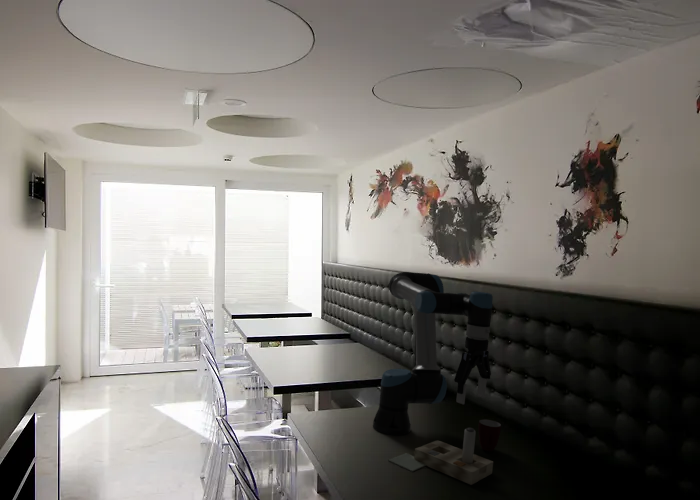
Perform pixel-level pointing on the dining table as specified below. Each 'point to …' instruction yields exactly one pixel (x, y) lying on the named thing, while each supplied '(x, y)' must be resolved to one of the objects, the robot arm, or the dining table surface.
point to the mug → (489, 434)
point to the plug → (468, 446)
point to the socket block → (453, 462)
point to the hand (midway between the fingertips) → (470, 399)
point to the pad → (407, 462)
